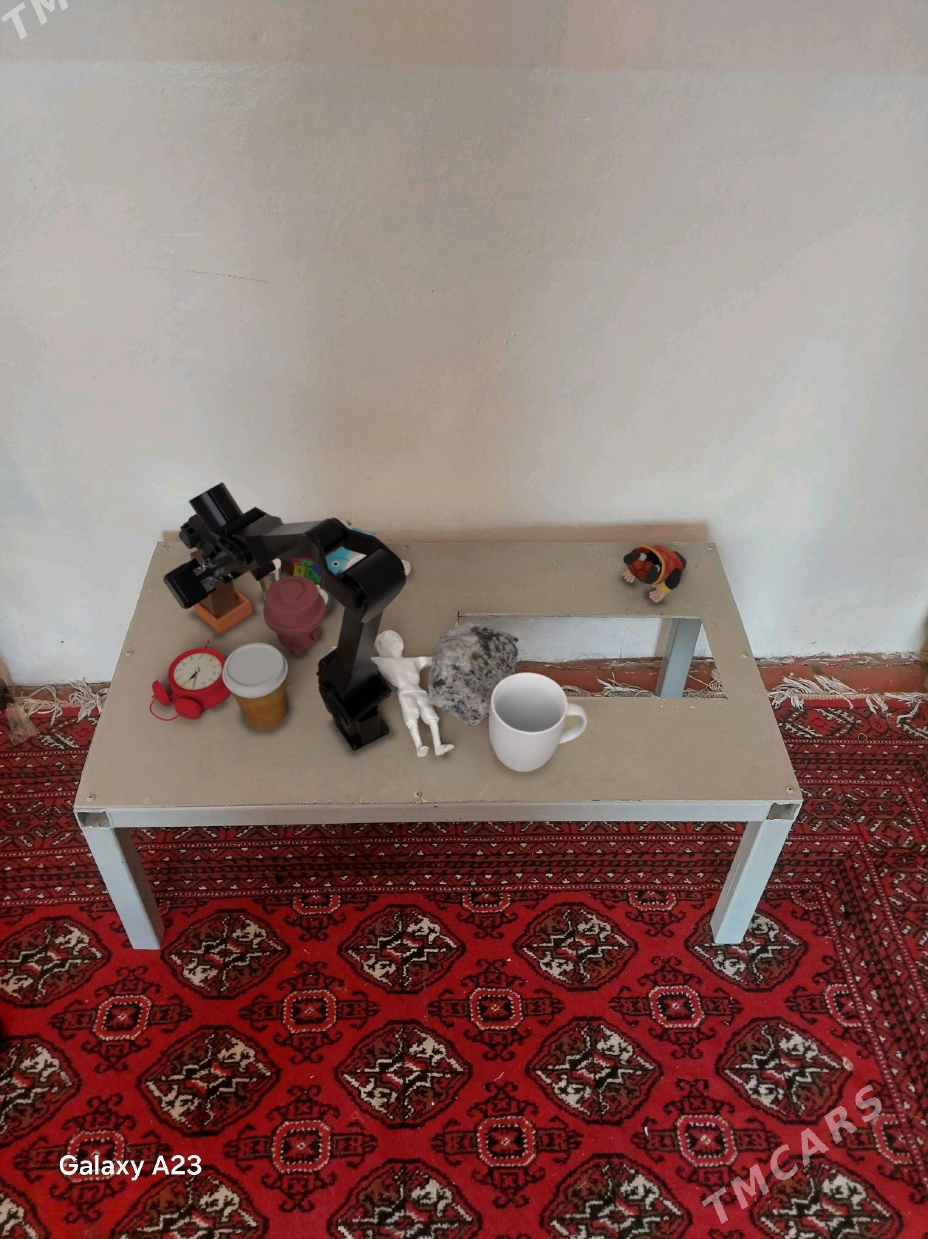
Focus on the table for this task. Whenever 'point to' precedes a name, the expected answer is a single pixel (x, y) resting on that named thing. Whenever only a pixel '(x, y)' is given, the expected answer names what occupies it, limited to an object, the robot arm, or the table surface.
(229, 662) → the disposable coffee cup
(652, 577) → the figurine
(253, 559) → the robot arm
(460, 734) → the table surface
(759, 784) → the table surface
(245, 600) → the socket pad
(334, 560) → the toy
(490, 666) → the rock
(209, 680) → the alarm clock
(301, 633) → the mechanical component
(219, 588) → the brown rectangular block
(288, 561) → the numbered block arch
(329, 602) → the stove knob
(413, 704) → the figurine
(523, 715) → the mug
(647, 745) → the table surface
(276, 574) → the milkshake
